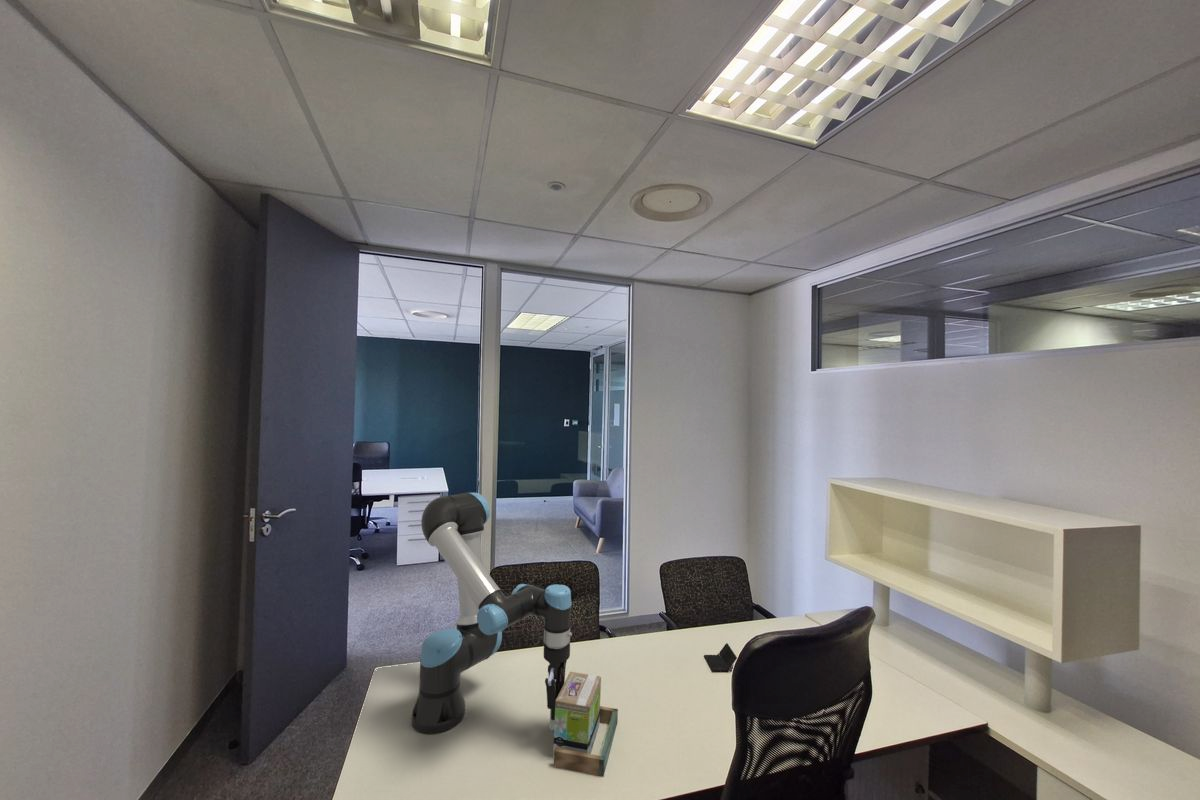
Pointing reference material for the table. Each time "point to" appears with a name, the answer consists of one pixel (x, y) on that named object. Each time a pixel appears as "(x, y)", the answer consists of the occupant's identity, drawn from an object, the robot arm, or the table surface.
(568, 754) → the bay
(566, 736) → the tea box
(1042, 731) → the table surface
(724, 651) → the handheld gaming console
